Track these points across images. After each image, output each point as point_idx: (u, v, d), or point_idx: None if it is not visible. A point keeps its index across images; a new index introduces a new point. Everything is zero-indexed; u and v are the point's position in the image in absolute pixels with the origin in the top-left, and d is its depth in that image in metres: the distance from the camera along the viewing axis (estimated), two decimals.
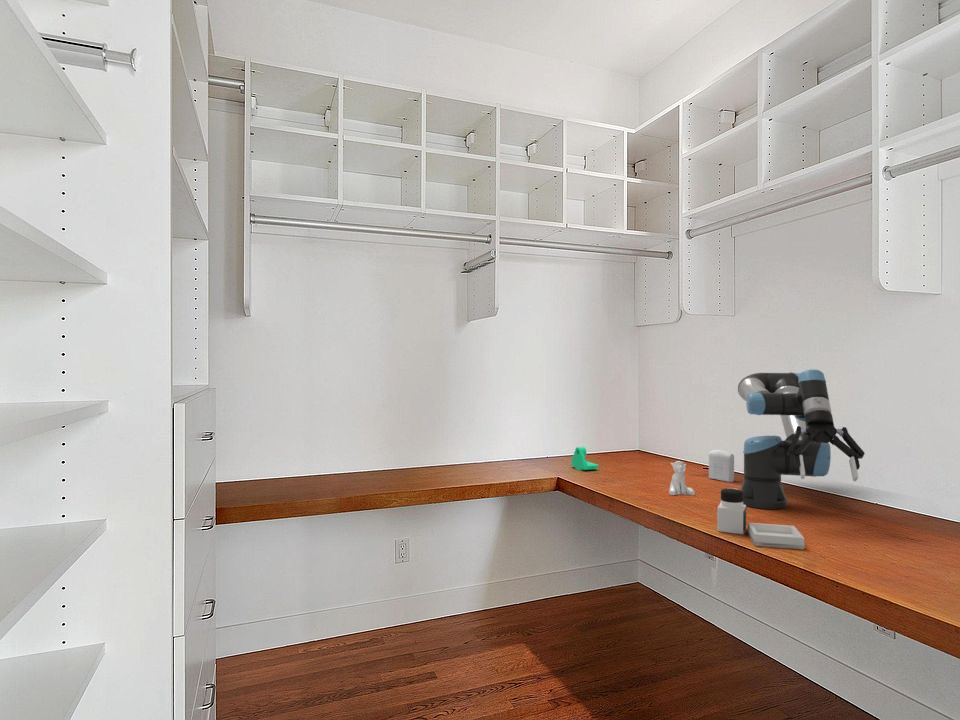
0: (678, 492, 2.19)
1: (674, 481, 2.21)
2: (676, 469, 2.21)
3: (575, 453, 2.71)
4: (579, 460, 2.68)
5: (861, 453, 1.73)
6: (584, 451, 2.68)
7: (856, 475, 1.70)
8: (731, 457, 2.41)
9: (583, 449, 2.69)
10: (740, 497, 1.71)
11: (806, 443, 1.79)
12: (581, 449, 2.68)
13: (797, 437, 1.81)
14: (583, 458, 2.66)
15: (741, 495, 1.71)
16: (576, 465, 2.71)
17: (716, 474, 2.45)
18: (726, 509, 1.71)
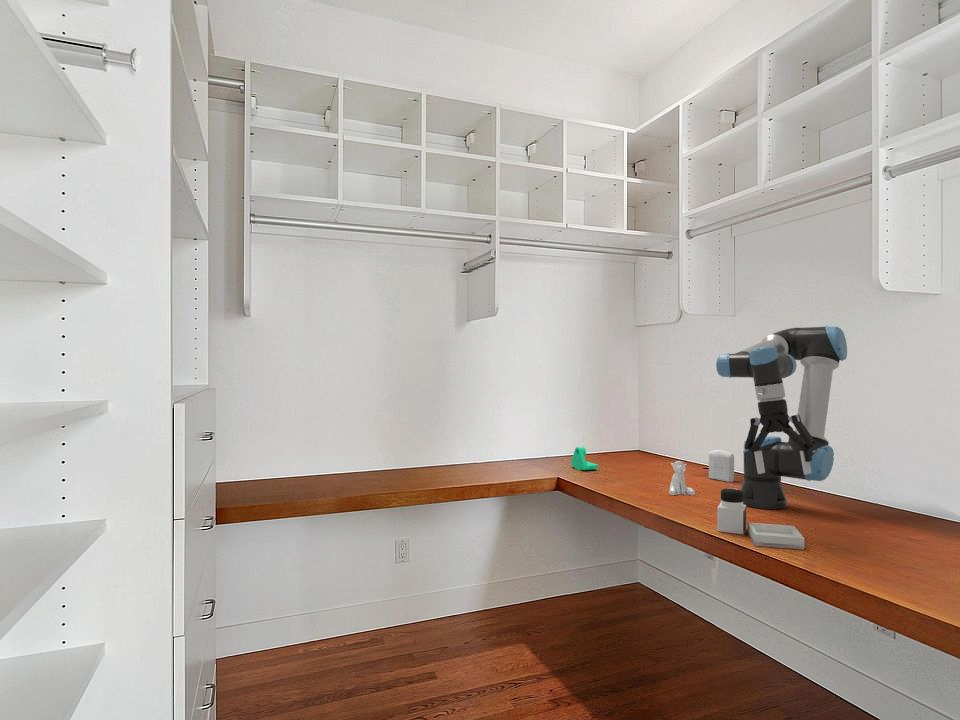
0: (678, 492, 2.19)
1: (674, 481, 2.21)
2: (676, 469, 2.21)
3: (575, 453, 2.71)
4: (579, 460, 2.68)
5: (809, 446, 1.62)
6: (584, 451, 2.68)
7: (804, 472, 1.64)
8: (731, 457, 2.41)
9: (583, 449, 2.69)
10: (740, 497, 1.71)
11: (759, 438, 1.74)
12: (581, 449, 2.68)
13: (751, 431, 1.76)
14: (583, 458, 2.66)
15: (741, 495, 1.71)
16: (576, 465, 2.70)
17: (716, 474, 2.45)
18: (726, 509, 1.71)
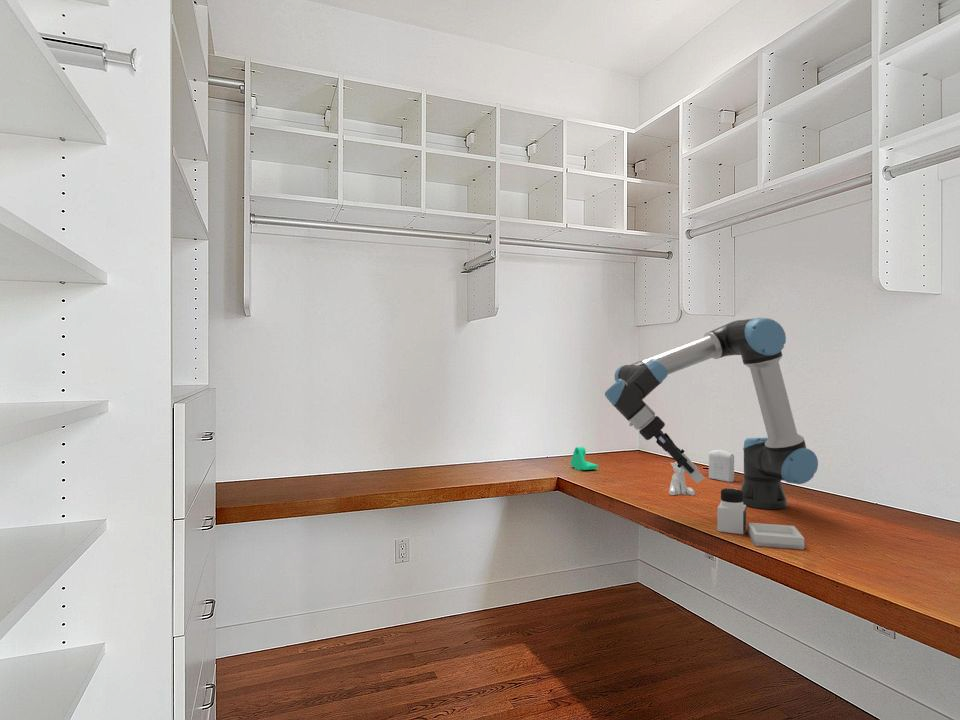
0: (678, 492, 2.19)
1: (674, 481, 2.21)
2: (676, 469, 2.21)
3: (574, 453, 2.71)
4: (578, 460, 2.68)
5: None
6: (583, 451, 2.68)
7: None
8: (731, 457, 2.41)
9: (582, 449, 2.68)
10: (740, 497, 1.71)
11: None
12: (580, 449, 2.68)
13: None
14: (583, 458, 2.66)
15: (741, 495, 1.71)
16: (575, 465, 2.70)
17: (716, 474, 2.45)
18: (726, 509, 1.71)
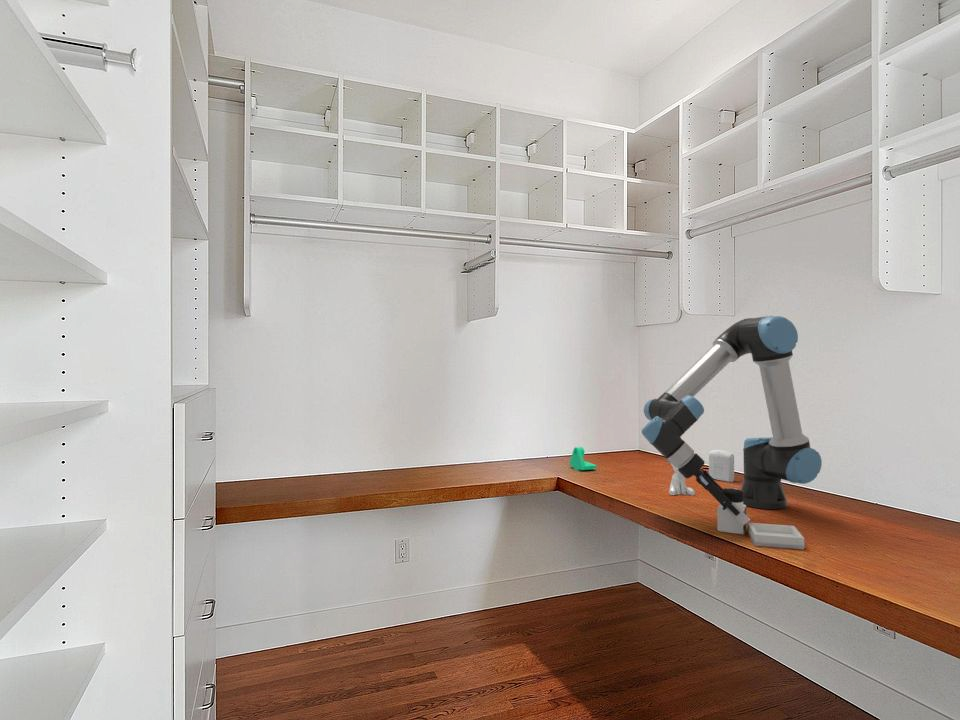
0: (678, 492, 2.19)
1: (674, 481, 2.21)
2: (676, 469, 2.21)
3: (573, 453, 2.71)
4: (577, 460, 2.68)
5: None
6: (582, 451, 2.68)
7: (741, 523, 1.69)
8: (731, 457, 2.41)
9: (581, 449, 2.68)
10: (740, 497, 1.71)
11: None
12: (579, 449, 2.68)
13: None
14: (581, 459, 2.66)
15: (741, 495, 1.71)
16: (574, 465, 2.70)
17: (716, 474, 2.45)
18: (726, 509, 1.71)
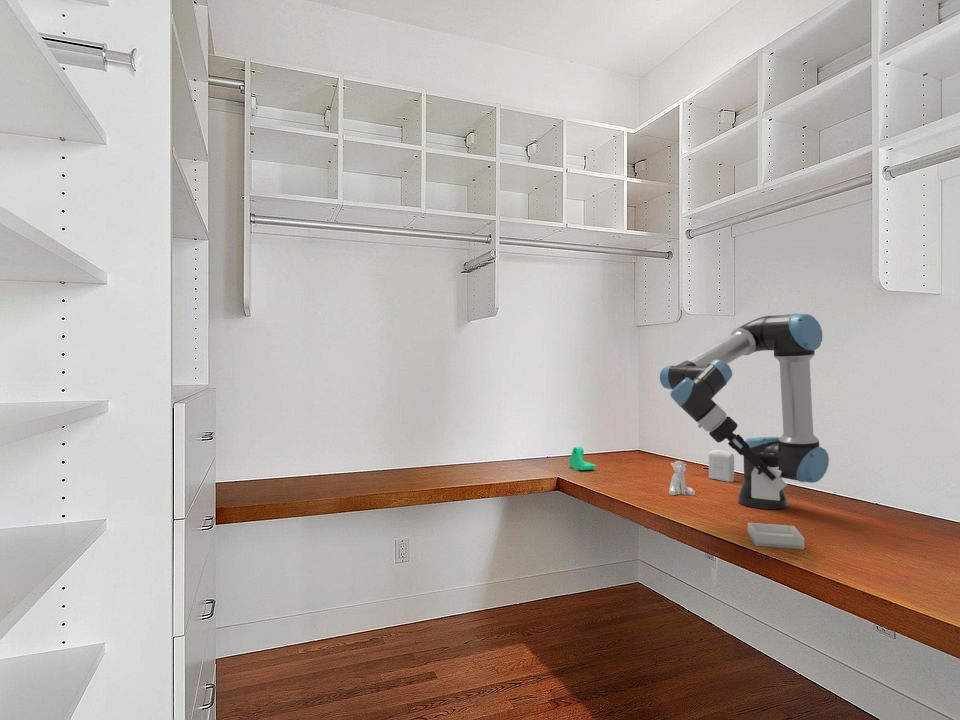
0: (678, 492, 2.19)
1: (674, 481, 2.21)
2: (676, 469, 2.21)
3: (572, 453, 2.71)
4: (576, 460, 2.68)
5: None
6: (581, 451, 2.68)
7: None
8: (731, 457, 2.41)
9: (580, 449, 2.68)
10: (776, 461, 1.62)
11: None
12: (578, 449, 2.68)
13: None
14: (580, 459, 2.65)
15: (777, 459, 1.62)
16: (573, 465, 2.70)
17: (716, 474, 2.45)
18: (761, 474, 1.62)
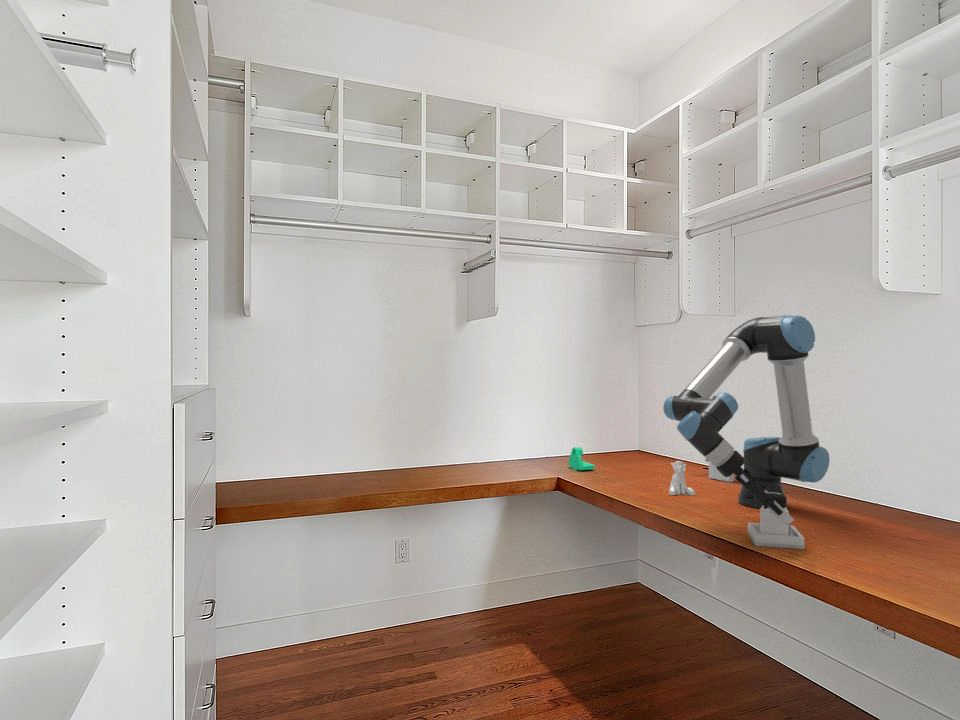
0: (678, 492, 2.19)
1: (674, 481, 2.21)
2: (676, 469, 2.21)
3: (572, 453, 2.71)
4: (575, 460, 2.67)
5: None
6: (580, 451, 2.68)
7: None
8: None
9: (579, 449, 2.68)
10: (784, 502, 1.60)
11: None
12: (577, 449, 2.68)
13: None
14: (579, 459, 2.65)
15: (785, 500, 1.61)
16: (572, 465, 2.70)
17: (716, 474, 2.45)
18: (770, 515, 1.60)
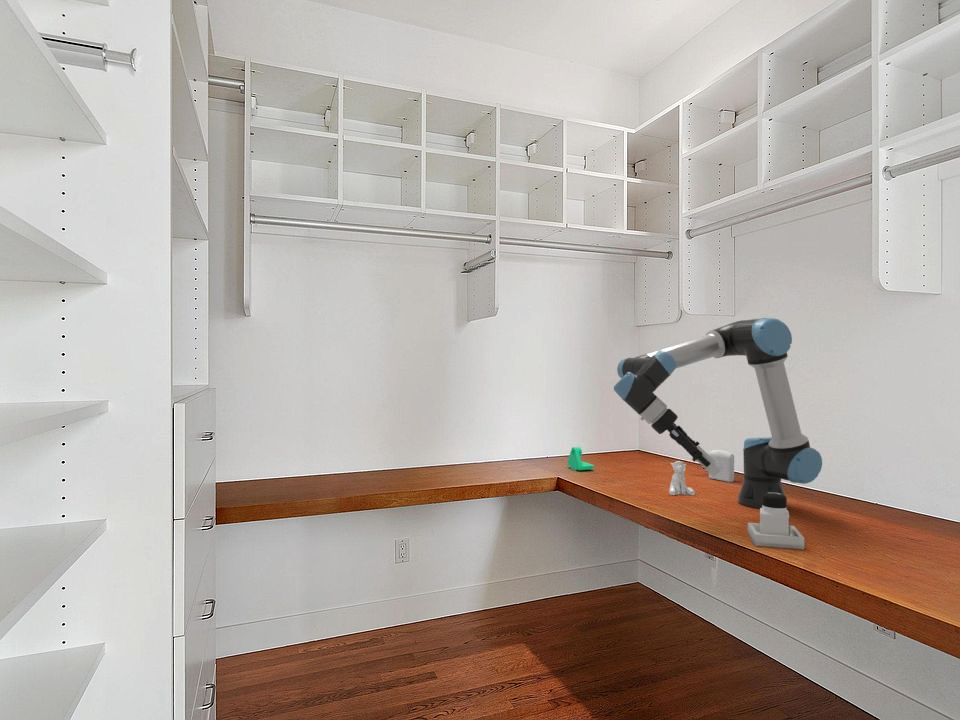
0: (678, 492, 2.19)
1: (674, 481, 2.21)
2: (676, 469, 2.21)
3: (571, 453, 2.71)
4: (574, 460, 2.67)
5: None
6: (579, 451, 2.68)
7: (712, 475, 1.64)
8: (731, 457, 2.41)
9: (578, 449, 2.68)
10: (784, 502, 1.60)
11: None
12: (576, 449, 2.68)
13: None
14: (578, 459, 2.65)
15: (785, 500, 1.61)
16: (572, 465, 2.70)
17: None
18: (770, 515, 1.60)
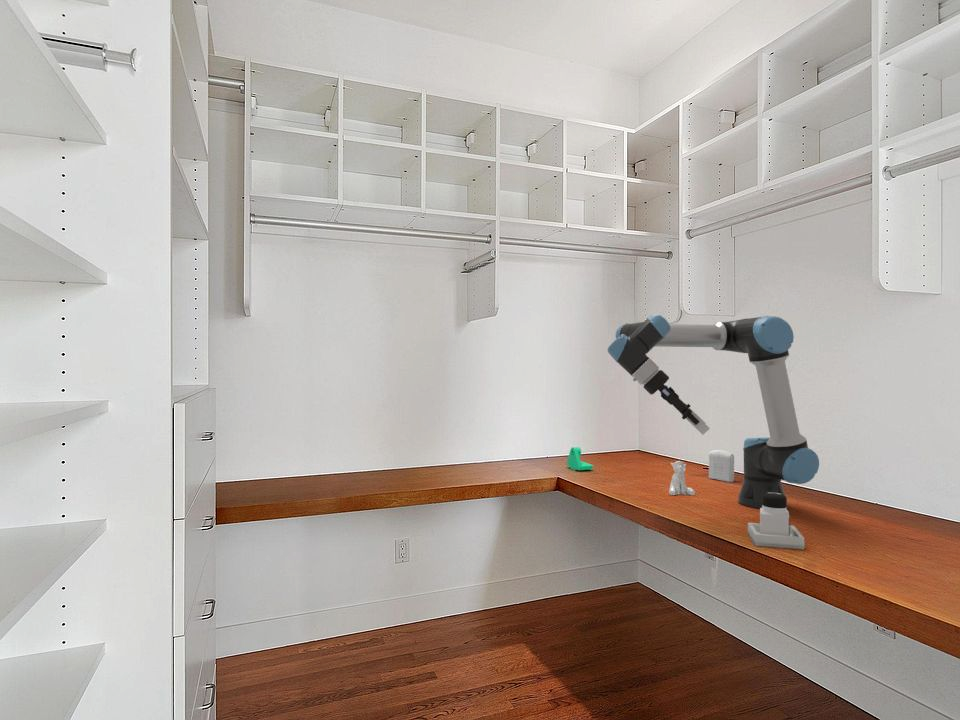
0: (678, 492, 2.19)
1: (674, 481, 2.21)
2: (676, 469, 2.21)
3: (570, 453, 2.71)
4: (574, 460, 2.67)
5: None
6: (579, 451, 2.68)
7: (701, 433, 1.68)
8: (731, 457, 2.41)
9: (578, 449, 2.68)
10: (784, 502, 1.60)
11: None
12: (576, 449, 2.68)
13: None
14: (578, 459, 2.65)
15: (785, 500, 1.61)
16: (571, 465, 2.70)
17: (716, 474, 2.45)
18: (770, 515, 1.60)
